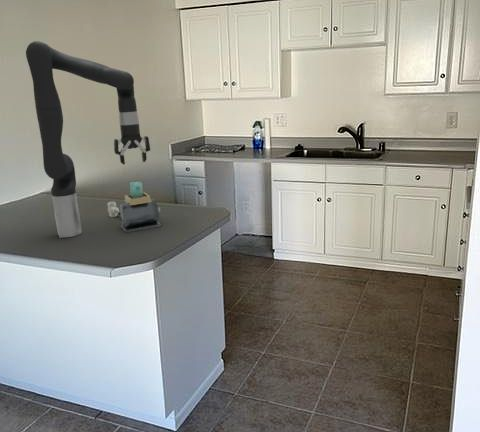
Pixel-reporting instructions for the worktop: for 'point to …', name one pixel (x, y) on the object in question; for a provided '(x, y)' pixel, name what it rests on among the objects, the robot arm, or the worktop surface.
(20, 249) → the worktop surface
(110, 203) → the valve
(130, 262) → the worktop surface
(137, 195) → the mint green rounded block
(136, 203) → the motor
